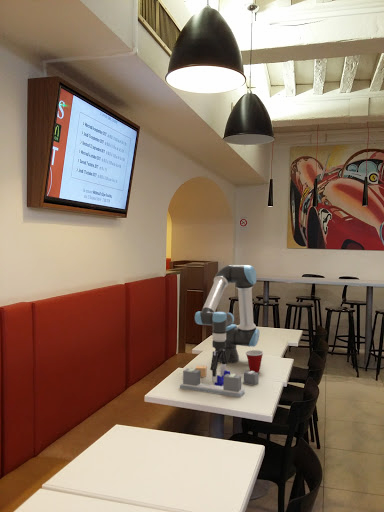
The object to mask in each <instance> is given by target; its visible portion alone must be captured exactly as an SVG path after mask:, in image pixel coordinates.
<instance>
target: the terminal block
mask: <svg viewBox="0 0 384 512" xmlns="http://www.w3.org/2000/svg"><path fill="white" fill-rule="evenodd" d="M194 369H196V370H201V377H203V378H206V377H207V375H208V374H207V373H208V367H207V365H196V366H195V368H194Z"/></svg>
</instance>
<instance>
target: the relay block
mask: <svg viewBox="0 0 384 512" xmlns="http://www.w3.org/2000/svg"><path fill="white" fill-rule="evenodd" d="M259 374H260V372H258V373H257V372H255V371H250V370H246V371H244V372H243V384H246V385H251V386H256V385H258V383H259V380H260V379H259V376H260V375H259Z"/></svg>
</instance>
